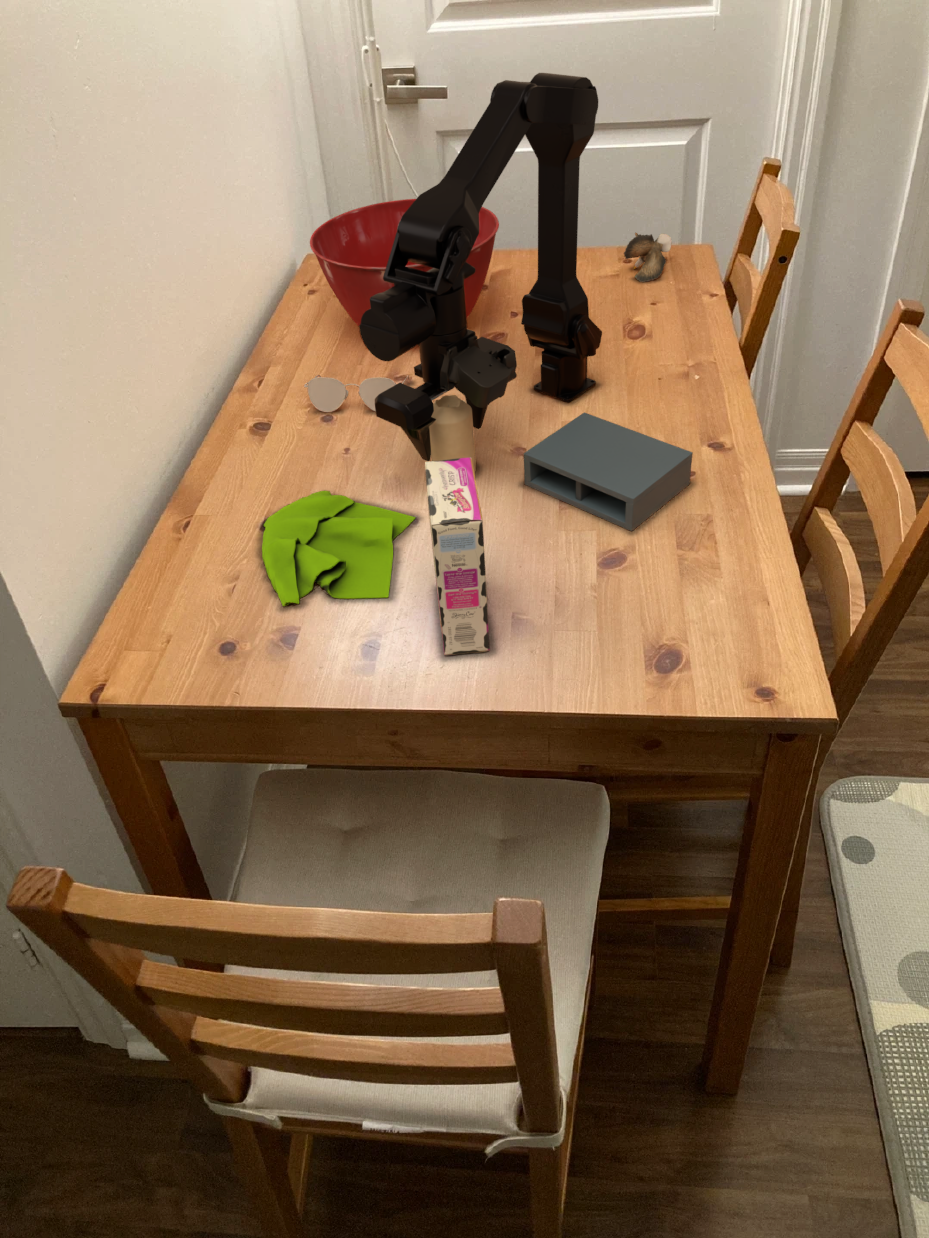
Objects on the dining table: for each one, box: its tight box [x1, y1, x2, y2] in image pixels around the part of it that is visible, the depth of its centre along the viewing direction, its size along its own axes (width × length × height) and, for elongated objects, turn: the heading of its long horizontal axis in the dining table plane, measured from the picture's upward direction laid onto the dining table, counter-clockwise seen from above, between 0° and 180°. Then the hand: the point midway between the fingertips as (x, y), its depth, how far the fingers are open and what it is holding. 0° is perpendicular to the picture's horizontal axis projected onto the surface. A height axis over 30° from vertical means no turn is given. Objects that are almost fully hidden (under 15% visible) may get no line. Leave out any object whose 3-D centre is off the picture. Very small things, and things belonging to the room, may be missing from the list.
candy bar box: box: [424, 457, 491, 656], centre depth 97 cm, size 11×5×16 cm, turn 5°
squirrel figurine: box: [623, 232, 673, 283], centre depth 164 cm, size 8×7×9 cm
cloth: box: [261, 490, 416, 607], centre depth 112 cm, size 20×22×2 cm
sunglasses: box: [303, 374, 411, 413], centre depth 139 cm, size 14×8×5 cm, turn 82°
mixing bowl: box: [309, 198, 500, 327], centre depth 151 cm, size 28×28×16 cm
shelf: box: [523, 412, 693, 532], centre depth 118 cm, size 12×16×4 cm
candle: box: [429, 394, 477, 475], centre depth 120 cm, size 6×6×10 cm
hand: (452, 443), depth 121 cm, fingers open, 9 cm apart
